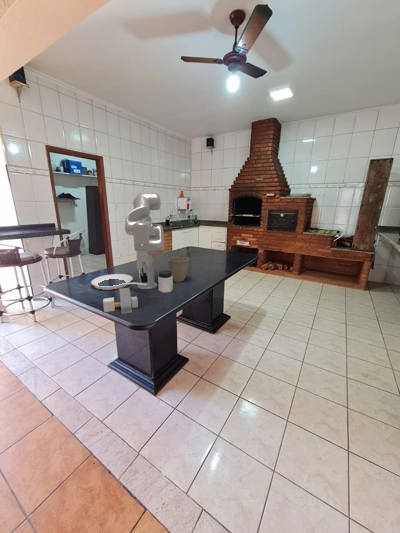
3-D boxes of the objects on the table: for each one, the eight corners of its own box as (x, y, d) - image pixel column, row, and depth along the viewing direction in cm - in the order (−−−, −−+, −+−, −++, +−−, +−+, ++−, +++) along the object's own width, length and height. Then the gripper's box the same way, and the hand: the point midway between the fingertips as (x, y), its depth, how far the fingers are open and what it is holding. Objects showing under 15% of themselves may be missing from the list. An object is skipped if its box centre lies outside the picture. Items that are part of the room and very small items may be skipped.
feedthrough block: (120, 301, 123) (119, 286, 121) (129, 300, 125) (128, 285, 123) (121, 314, 109) (120, 297, 106) (132, 312, 111) (130, 296, 108)
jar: (175, 290, 140) (175, 272, 137) (165, 293, 135) (164, 275, 131) (166, 286, 146) (166, 269, 143) (156, 290, 141) (155, 271, 137)
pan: (115, 276, 168) (115, 268, 166) (161, 287, 146) (160, 278, 144) (83, 286, 146) (81, 277, 144) (130, 301, 124) (129, 290, 122)
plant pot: (190, 277, 166) (190, 256, 162) (187, 284, 152) (187, 261, 147) (170, 276, 167) (170, 256, 163) (166, 283, 153) (165, 260, 149)
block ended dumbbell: (104, 308, 115) (103, 298, 113) (137, 303, 121) (136, 294, 119) (104, 312, 111) (103, 302, 109) (138, 307, 117) (137, 297, 115)
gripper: (133, 244, 118) (135, 277, 123) (135, 250, 103) (138, 287, 108) (147, 244, 121) (148, 276, 126) (152, 249, 106) (153, 285, 111)
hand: (144, 281), depth 117 cm, fingers open, 3 cm apart
